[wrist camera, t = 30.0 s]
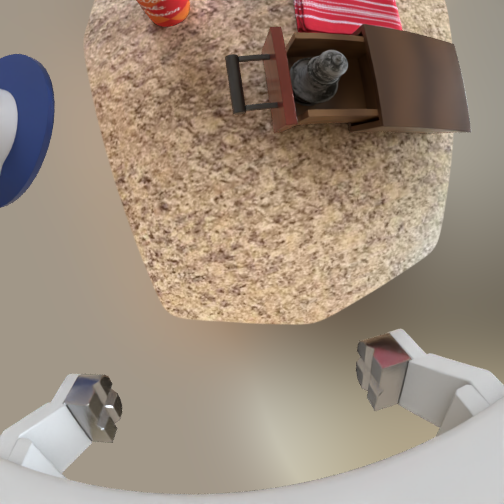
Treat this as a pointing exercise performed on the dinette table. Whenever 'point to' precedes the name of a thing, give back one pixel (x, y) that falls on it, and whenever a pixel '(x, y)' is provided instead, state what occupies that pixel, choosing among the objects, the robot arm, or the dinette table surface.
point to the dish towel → (344, 15)
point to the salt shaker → (317, 77)
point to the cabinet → (413, 83)
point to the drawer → (280, 87)
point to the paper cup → (165, 11)
